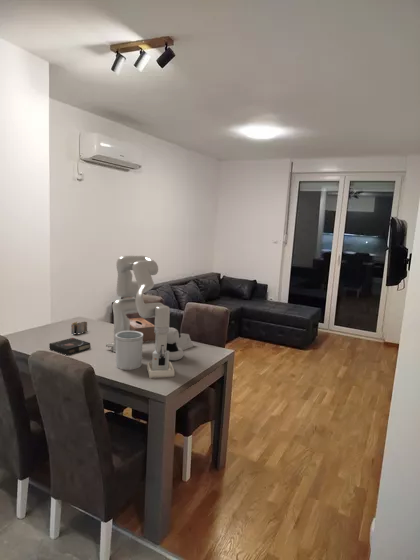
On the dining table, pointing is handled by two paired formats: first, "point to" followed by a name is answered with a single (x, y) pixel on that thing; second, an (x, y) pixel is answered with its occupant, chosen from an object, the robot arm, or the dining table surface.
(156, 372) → the tray
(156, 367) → the small box
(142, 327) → the tissue box cover
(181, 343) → the white and black block
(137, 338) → the utensil holder
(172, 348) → the decorative figurine
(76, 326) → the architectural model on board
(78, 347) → the flat black printed box
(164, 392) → the dining table surface
